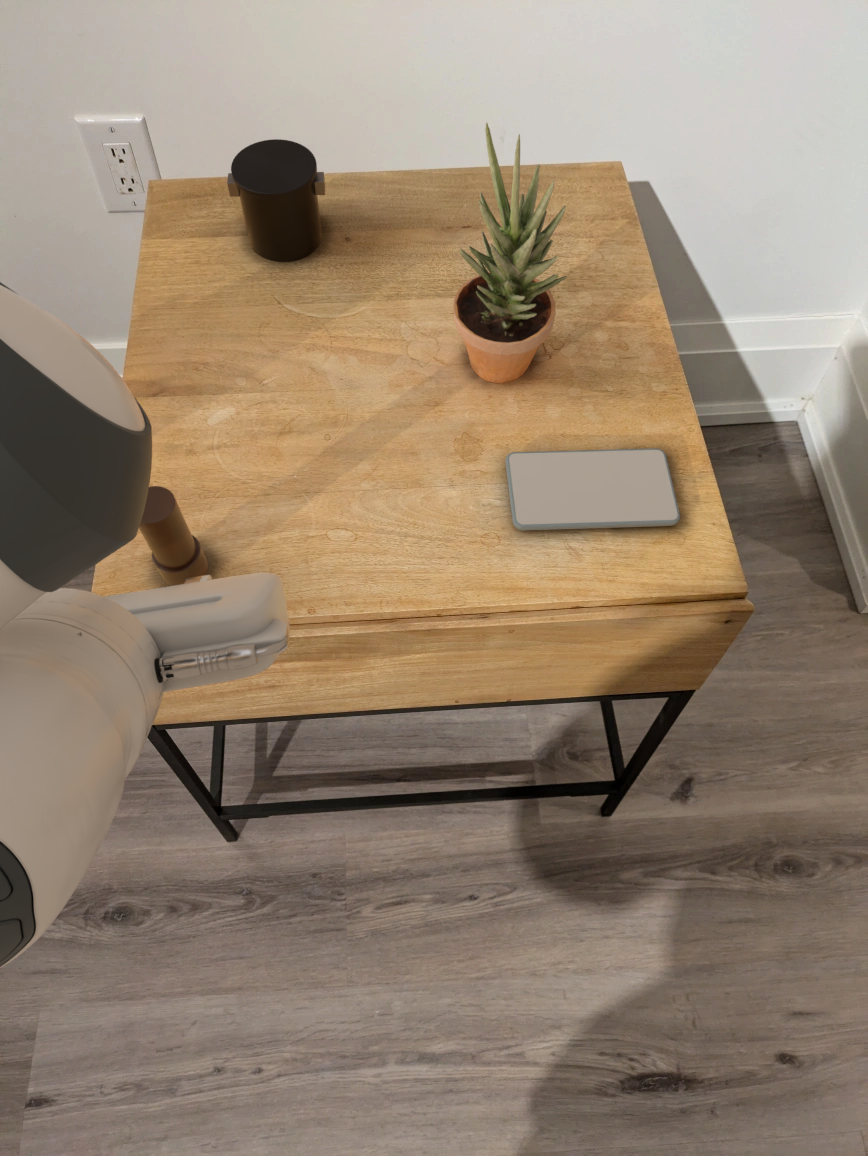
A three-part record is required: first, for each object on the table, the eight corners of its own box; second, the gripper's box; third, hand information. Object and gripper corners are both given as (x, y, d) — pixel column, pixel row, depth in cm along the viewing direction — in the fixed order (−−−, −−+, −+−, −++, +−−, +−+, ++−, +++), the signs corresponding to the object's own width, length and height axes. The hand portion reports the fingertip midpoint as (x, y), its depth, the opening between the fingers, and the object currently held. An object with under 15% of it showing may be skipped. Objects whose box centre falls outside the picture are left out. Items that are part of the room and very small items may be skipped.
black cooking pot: (238, 265, 91) (221, 194, 83) (243, 211, 95) (228, 139, 87) (329, 263, 91) (321, 192, 83) (330, 210, 95) (323, 138, 88)
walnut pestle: (158, 590, 72) (122, 527, 63) (163, 549, 74) (129, 483, 65) (206, 588, 72) (176, 525, 63) (210, 548, 74) (181, 481, 65)
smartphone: (682, 522, 75) (514, 527, 74) (679, 528, 75) (512, 533, 75) (664, 446, 79) (504, 450, 78) (662, 453, 79) (503, 457, 79)
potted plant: (440, 335, 86) (447, 98, 65) (528, 318, 87) (564, 81, 66) (467, 409, 82) (485, 181, 60) (560, 390, 83) (610, 160, 61)
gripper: (276, 588, 38) (285, 524, 51) (-200, 663, 36) (-64, 577, 49) (299, 714, 40) (302, 621, 53) (-153, 792, 38) (-34, 675, 51)
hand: (123, 600), depth 51 cm, fingers open, 8 cm apart
